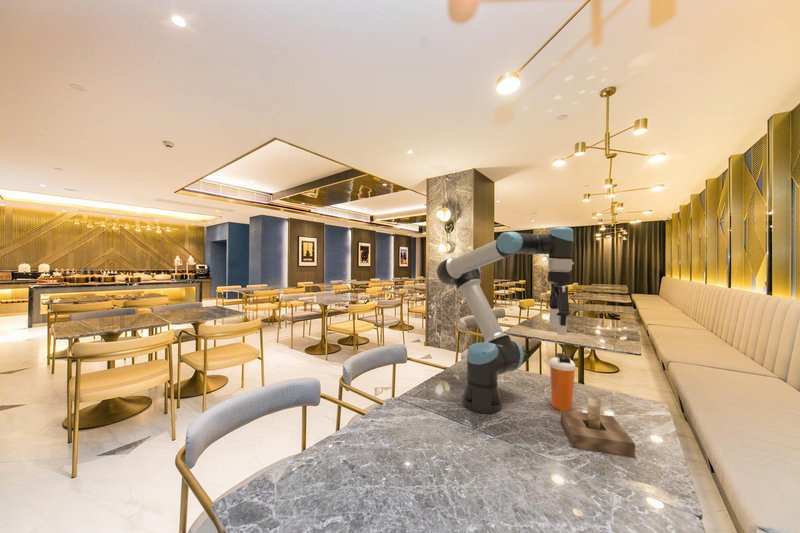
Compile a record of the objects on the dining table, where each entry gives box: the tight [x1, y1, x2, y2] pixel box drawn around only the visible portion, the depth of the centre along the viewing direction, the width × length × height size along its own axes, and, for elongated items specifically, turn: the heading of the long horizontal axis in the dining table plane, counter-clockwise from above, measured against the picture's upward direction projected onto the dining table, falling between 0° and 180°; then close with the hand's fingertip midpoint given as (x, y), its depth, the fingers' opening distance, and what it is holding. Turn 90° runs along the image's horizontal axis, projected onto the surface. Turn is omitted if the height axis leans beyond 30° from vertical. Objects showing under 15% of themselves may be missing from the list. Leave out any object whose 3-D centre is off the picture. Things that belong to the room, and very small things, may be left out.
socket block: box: [560, 410, 636, 458], centre depth 97 cm, size 16×16×4 cm
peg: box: [586, 397, 602, 430], centre depth 97 cm, size 4×4×12 cm
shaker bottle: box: [549, 352, 576, 411], centre depth 117 cm, size 9×9×20 cm
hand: (557, 330), depth 107 cm, fingers open, 13 cm apart
